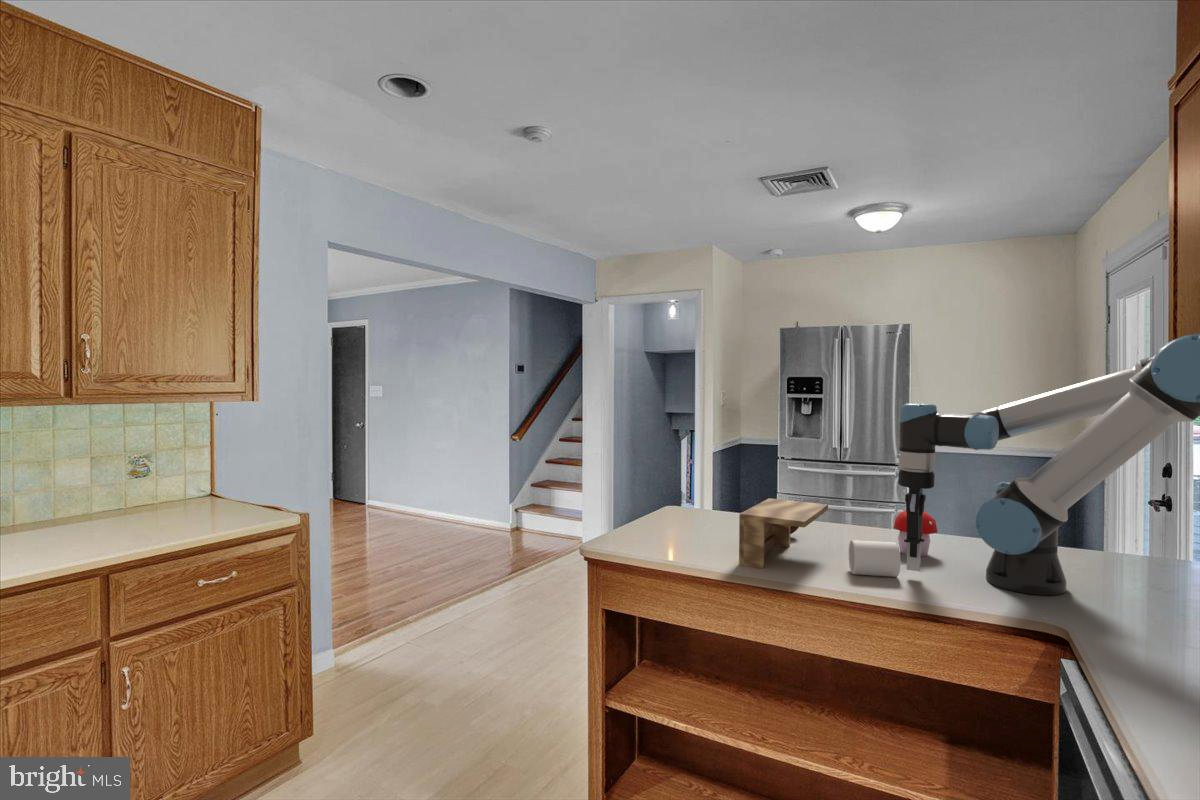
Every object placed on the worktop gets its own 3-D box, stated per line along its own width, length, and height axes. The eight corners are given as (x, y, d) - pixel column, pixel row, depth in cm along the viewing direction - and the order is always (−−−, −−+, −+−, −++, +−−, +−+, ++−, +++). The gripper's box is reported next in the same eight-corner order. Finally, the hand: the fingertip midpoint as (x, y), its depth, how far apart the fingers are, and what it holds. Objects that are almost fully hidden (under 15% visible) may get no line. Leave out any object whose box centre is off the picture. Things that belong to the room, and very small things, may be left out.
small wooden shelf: (827, 552, 168) (828, 504, 168) (803, 575, 148) (804, 521, 148) (768, 543, 177) (769, 498, 176) (738, 564, 157) (739, 513, 156)
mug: (900, 581, 144) (901, 547, 144) (854, 578, 146) (855, 544, 146) (887, 566, 156) (887, 534, 156) (845, 563, 158) (845, 532, 158)
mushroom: (901, 545, 175) (901, 503, 175) (943, 553, 167) (944, 508, 167) (886, 552, 168) (887, 508, 167) (930, 561, 160) (931, 515, 159)
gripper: (902, 464, 153) (899, 560, 154) (894, 471, 142) (891, 574, 143) (937, 467, 149) (934, 565, 150) (931, 474, 138) (928, 580, 139)
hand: (913, 569), depth 146 cm, fingers closed
